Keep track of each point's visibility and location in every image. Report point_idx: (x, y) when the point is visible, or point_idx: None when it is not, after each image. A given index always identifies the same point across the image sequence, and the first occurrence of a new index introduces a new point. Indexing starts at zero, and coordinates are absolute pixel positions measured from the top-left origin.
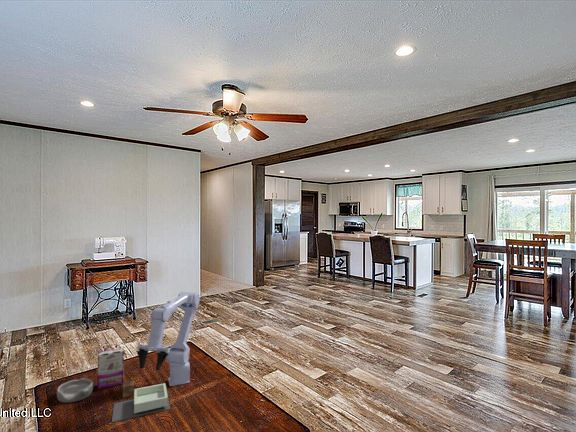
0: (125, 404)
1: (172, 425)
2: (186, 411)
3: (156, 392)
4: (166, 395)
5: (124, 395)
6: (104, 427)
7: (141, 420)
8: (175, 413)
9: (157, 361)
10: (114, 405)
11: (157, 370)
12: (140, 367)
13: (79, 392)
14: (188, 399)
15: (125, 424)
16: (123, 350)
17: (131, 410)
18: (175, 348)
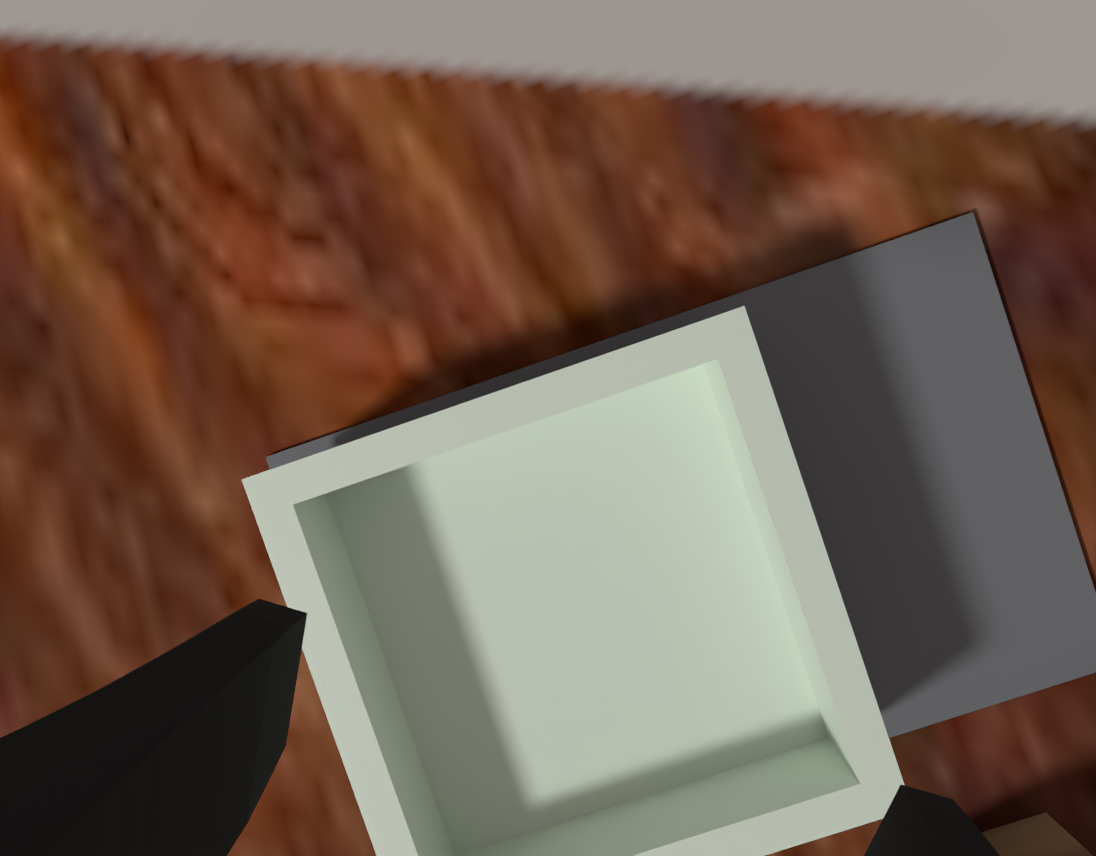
0: (938, 620)
1: (141, 86)
2: (32, 383)
3: (545, 812)
4: (280, 543)
5: (1038, 835)
6: (1024, 114)
7: (582, 229)
8: (169, 349)
9: (86, 784)
10: (1090, 611)
11: (246, 606)
12: (938, 810)
13: None
14: (70, 675)
15: (766, 157)
16: None
17: (797, 462)
18: None
